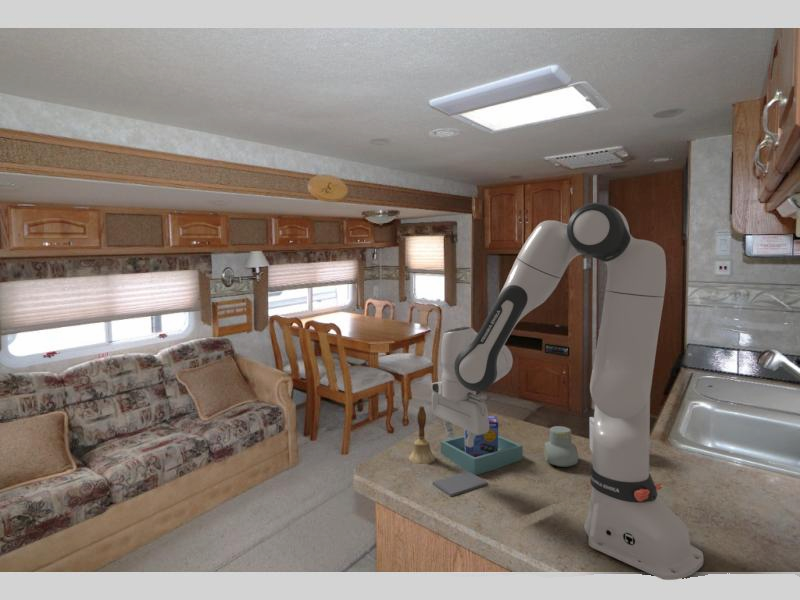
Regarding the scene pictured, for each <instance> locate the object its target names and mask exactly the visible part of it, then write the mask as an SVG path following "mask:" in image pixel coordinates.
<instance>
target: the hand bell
mask: <svg viewBox="0 0 800 600" xmlns="http://www.w3.org/2000/svg"><path fill="white" fill-rule="evenodd" d="M426 423H427V414H426V410H425V407H424V406H419V408H418V412H417V424H418V427H419V429H418V439H416V440H415V441H414V444H413V449H412V452H411V454H410V455H409V456H408V459H409V461H410V462H412V463H414V464H419V465H427V464H430V463H433V462H434V461H435V460H436V455H435V454H433V452H432V450H431V446H430V441H429V440H427V439H426V438H425V435H426V433H425V426H426Z"/></svg>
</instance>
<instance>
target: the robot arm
mask: <svg viewBox="0 0 800 600" xmlns="http://www.w3.org/2000/svg"><path fill="white" fill-rule="evenodd" d="M631 230H632V228H631V226H630V223H629V220H627V218H626V217H625V216H624V214H623V213H622V212H621V211H620V210H619V209H617V208H616V207H614V206H612V205H609V204H607V203H603V202H592V203H587V204H585V205H582V206H581V207H579V208H578V209H576V210H575V211H574V212H573V213H572V215H571V216H570V218H569V219H568V222H567V223H565V222H561V221H558V220H552V219H551V220H548V219H547V220H544V221H541V222H540V223H539V224H537V225H536V227H535V228H534V229H533V231H532V232H531V233H530V234H529V236H528V237H527V239H526V241H525V242H524V244H523V245H522V247H521V249H520V250H519V253H518V255H517V257H516V259H515V260H514V262H513V265H512V268H511V269H510V271H509V273H508V275H507V278H506V280H505V283H504V284H503V287H502V289H501V291H500V293H499V295H498V296H497V299H496V301H495V302H494V304H493V306H492V308H491V310H490V311H489V313H488V315H487V316H486V319H485V320H484V322H483V323H482V326H481V328H480V329H479V331H478V332H477V331H475V329H474V328H473V327H470V326H461V327H456V328H451V329H448V330H446V331H445V332H444V333H443V335H442V339H441V350H440V352H441V353H440V357H441V358H440V360H441V365H442V373H441V381H436V382H432V383H431V384H430V390H431V391H432V393H431V410H432V414H433V415H434V416H435V417H437V418H440V419H441V420H442V424H443V426H444V428H445V436H446V437H448V438H449V439H452V438H455V435H456V434H455V429H453V425H455V426H456V427H459V428H461V429H463V430H464V429H465V430H467V434H468V437H467V439H465V445H466V446H468V447H473V445H474V438H475V436H476V435H482V434H485V433H487V432H488V431H489V417H488V416H489V411H488V407H487V404H486V402H485V400H484V399H483V397H482V396H480V395H477V392H483V391H485V390H488V389H489V388H491V386H492V385H493V384H494V383H496V382H497V381H499V380H501V379H502V378H503V377H505V376H506V375H507V374H509V372H511V369H513V364H514V358H513V353H512V351H511V350H510V347H508V346H507V345H506V343H507V341H508V339H509V337H510V336H511V334H512V332H513V331H514V329H515V327H516V326H517V325H518V323H519V322H521V320H522V319H523V318H524V317H525V316H526V315H527V314H529V313H530V312H532V311H533V310H534V309H536V308H537V307H539V306H541V305H542V304H544V302H546V301H547V299H548V298H549V297H550V296H552V294H553V292H554V290H556V288H557V286H558V285H559V283H560V281H561V280H562V277H563V275H564V273H565V271H566V270H567V268H568V266H569V265H570V263H571V262H572V261H573V259H575V258H576V257H578V256H588V257H591V258H594V259H596V260H598V261H601V262H604V263H605V264H606V267H607V268H606V269H607V276H606V277H607V278H606V283H605V284H606V285H605V291H604V297H603V306H602V313H601V320H600V327H599V333H598V337H597V342H596V348H595V353H594V359H593V360H594V361H593V366H592V370H591V375H590V383H589V392H590V396H591V399H592V401H593V403H594V413H593V417H594V425H593V452H592V465H591V466H590V473H589V474H590V476H589V479H590V481H589V482H590V485H591V494H590V501H589V509H588V512H587V517H586V520H585V523H584V525H583V526H584V532H585V533H586V535H587V537H588V541H587V542H588V546H589V548H592V549H594V550H596V551H599V552H601V553H603V554H605V555H607V556H610V557H611V558H614V559H616V560H619V561H621V562H623V563H625V564H627V565H630V566H632V567H634V568H636V569H638V570H641V571H643V572H645V573H647V574H649V575H651V576H654V577H656V578H658V579H661V580H665V581H672V580H673V581H674V580H675V581H676V580H680V579H684V578H687V577H688V576H691V575H693V574H694V573H696V572H698V571H699V570H700V568H702V567H703V565H704V553H703V552H702V550H700V549H698V548H697V547H696V546H695V545H694V546H693V545H692V544H691V541H690V535H689V531H688V528H687V525H686V524H685V523H684V521H682V519H680V518H679V517H678V516H677V514H676V513H674V511H673V510H672V509H671V508H670V507H669V506H668V505H667V504H666V503H665V502H664V500H662V499H661V498H660V497H659V496H658V491H659V490H661V489H663V486H662V485H663V483H661V482H660V483H657V484H655V482H654V480H653V477H652V475H651V474H650V442H651V441H650V436H651V435H650V433H651V432H650V431H651V429H650V428H651V427H650V425H651V424H650V422H651V417H650V416H651V413H650V412H651V392H652V391H651V390H652V384H653V375H654V369H655V360H656V354H657V348H658V347H657V345H658V339H659V333H660V332H659V331H660V326H661V318H662V313H663V312H662V311H663V306H664V299H665V291H666V284H667V283H666V281H667V263H666V262H667V261H666V260H667V259H666V253H665V250H664V248H663V247H662V246H660V245H659V244H658V243H656V242H654V241H651V240H646V239H640V238H639V239H638V238H636V237H633V235H632V231H631Z"/></svg>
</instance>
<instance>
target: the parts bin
mask: <svg viewBox="0 0 800 600" xmlns="http://www.w3.org/2000/svg"><path fill="white" fill-rule="evenodd" d="M440 455H442V456H444V457H445V458H447V459H448V460H450V461H451V462H453V463H454V464H456V465H457V466H459V467H460V468H461V469H463V470H465V472H467V471H469V472H471V473H473V474H474V475H476V476H478V475H481V474H484V473H487V472H491V471H494V470H497V469H499V468H503V467H505V466H508V465H511V464H514V463H516V462H520V461H522V460H523V458H524V457H523V455H524V454H523V445H521V444H519V443H518V442H515V441H512V440H510V439H508V438H506V437H503V436H501V435H500V434H498V451H496V452H492V453H489V454H485V455H482V456H478V457H473V456H471V455H469V454H467V453H466V452H465V450H464V435H461V436H456V437H451V438H449V439H444V440H441V441H440Z"/></svg>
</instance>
